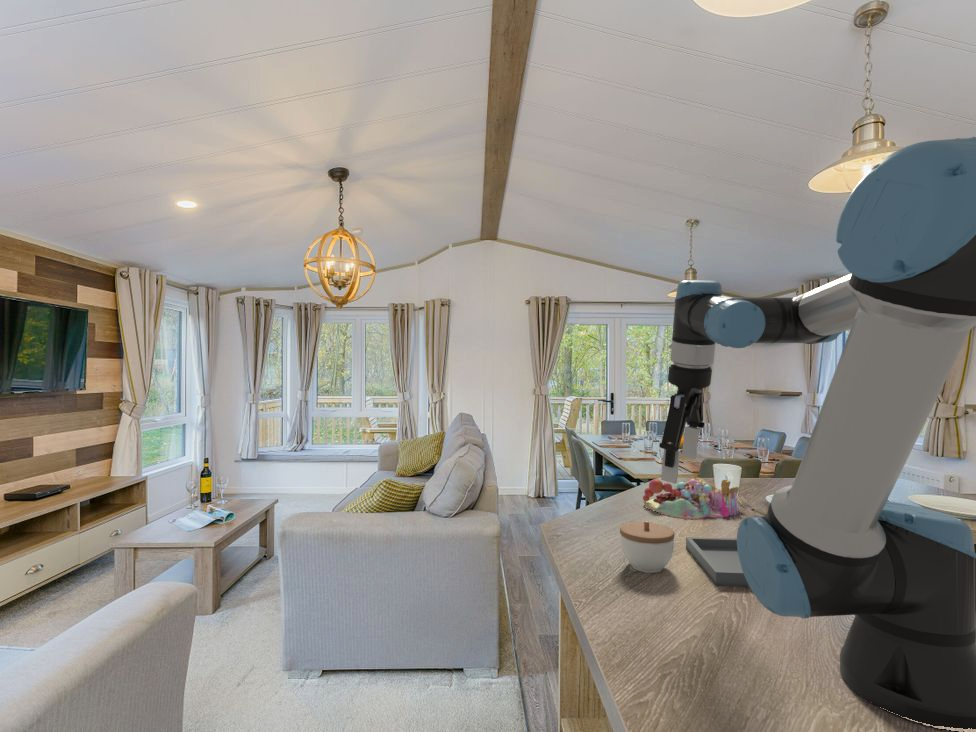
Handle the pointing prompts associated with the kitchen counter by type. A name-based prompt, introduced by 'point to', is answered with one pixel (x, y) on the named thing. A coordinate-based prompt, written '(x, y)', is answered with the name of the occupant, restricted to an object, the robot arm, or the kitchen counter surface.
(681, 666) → the kitchen counter surface
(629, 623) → the kitchen counter surface
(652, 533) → the lidded jar
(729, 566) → the tray
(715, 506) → the candy landscape model
